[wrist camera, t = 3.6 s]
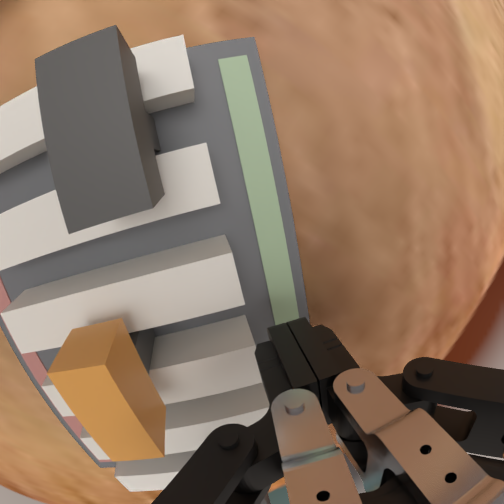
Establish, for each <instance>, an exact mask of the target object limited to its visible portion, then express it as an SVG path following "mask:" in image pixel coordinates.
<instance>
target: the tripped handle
mask: <svg viewBox="0 0 504 504" xmlns="http://www.w3.org/2000/svg"><path fill="white" fill-rule="evenodd" d="M154 340H155V333H154V330H153V328H149V329H145V330H140V331H136V332H131V333H128V331H127V328H126V326H125V324H124V322H123V319H122V318H119V319H115V320H111V321H106V322H102V323H98V324H93V325H89V326H84V327H80V328H75V329H72V330H71V331H70V333H69V335H68V337H67V338H66V340H65V342H64V343H63V345H62V347H61V349H60V350H59V352H58V354H57V356H56V357H55V359H54V361H53V363H52V365H51V366H50V368H49V370H48V372H47V375H48V376H49V378H50V380H51V381H52V383H53V384H54V386H55V387H56V389H57V390H58V392H59V393H60V395H61V396H62V398H63V399H64V401H65V402H66V404H67V405H68V406H69V408H70V409H71V411H72V412H73V413H74V415H75V416H76V417H77V419H78V420H79V421H80V423H81V424H82V425H83V427H84V428H85V429H86V431H87V432H88V433H89V434H90V436H91V437H92V438H93V439H94V440H95V442H96V443H97V444H98V445H99V446H100V448H101V449H102V450H103V451H104V452H105V453H106V455H107V456H108V457H109V458H110V459H111V460H112V461H113V462H114V461H130V460H143V459H153V458H162V457H165V422H166V406H165V405H164V403H163V401H162V399H161V397H160V395H159V394H158V392H157V390H156V388H155V386H154V384H153V382H152V380H151V378H150V377H149V371H150V365H151V358H152V352H153V346H154Z"/></svg>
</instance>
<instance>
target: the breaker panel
mask: <svg viewBox="0 0 504 504" xmlns="http://www.w3.org/2000/svg"><path fill="white" fill-rule="evenodd" d="M35 69H36V81H37V86H36V87H34V88H32V89H30V90H28V91H26V92H25V93H23V94H21V95H19V96H17V97H16V98H14V99H12V100H10V101H8V102H7V103H5V104H3V105H2V106H0V326H1V328H2V330H3V332H4V334H5V336H6V338H7V340H8V342H9V344H10V345H11V347H12V349H13V351H14V353H15V354H16V356H17V358H18V359H19V361H20V363H21V365H22V366H23V368H24V369H25V371H26V373H27V374H28V376H29V377H30V379H31V381H32V382H33V384H34V385H35V387H36V388H37V390H38V391H39V393H40V394H41V396H42V397H43V398H44V400H45V401H46V403H47V404H48V406H49V407H50V408H51V410H52V411H53V412H54V414H55V415H56V416H57V418H58V419H59V420H60V422H61V423H62V424H63V425H64V427H65V428H66V429H67V430H68V432H69V433H70V434H71V435H72V437H73V438H74V439H75V440H76V441H77V442H78V444H79V445H80V446H81V447H82V448H83V449H84V451H85V452H86V453H87V454H88V455H89V456H90V457H91V458H92V459H93V460H94V462H95V463H96V464H97V465H98V466H99V467H100V468H104V467H116V468H115V477H116V478H117V479H118V480H119V481H120V482H121V483H122V484H123V485H124V486H125V487H126V488H127V489H128V490H129V491H130V492H132V491H152V490H164V489H165V488H166V486H167V485H168V484H169V483H170V482H171V481H172V479H173V478H174V477H175V476H176V475H177V473H178V472H179V471H180V470H181V469H182V467H183V466H184V465H185V464H186V463H187V461H188V460H189V459H190V458H191V456H192V455H193V454H194V453H195V452H196V450H197V449H198V448H199V447H200V445H201V444H202V443H203V442H204V440H205V439H206V438H207V436H208V435H209V434H210V433H211V432H212V431H213V430H214V429H216V428H218V427H220V426H222V425H225V424H232V423H235V424H242V425H244V426H246V427H248V426H250V425H252V424H254V423H255V422H257V421H259V420H260V419H261V418H262V417H263V416H264V415H265V414H266V413H267V411H268V409H269V405H270V404H269V401H268V398H267V395H266V392H265V389H264V386H263V383H262V379H261V376H260V372H259V368H258V365H257V361H256V357H255V354H254V353H255V350H256V347H257V344H259V343H262V342H266V341H269V337H268V332H267V328H268V327H271V326H275V325H278V324H282V323H286V322H288V321H292V320H295V319H298V318H301V317H306V319H307V320H308V322H309V323H310V321H309V314H308V307H307V300H306V294H305V287H304V281H303V274H302V268H301V262H300V256H299V250H298V244H297V238H296V232H295V226H294V221H293V215H292V209H291V204H290V199H289V193H288V188H287V183H286V177H285V172H284V167H283V162H282V157H281V152H280V147H279V143H278V138H277V133H276V128H275V124H274V119H273V114H272V110H271V105H270V101H269V96H268V92H267V88H266V83H265V79H264V75H263V71H262V66H261V62H260V58H259V54H258V50H257V46H256V42H255V38H254V37H249V38H241V39H234V40H227V41H221V42H215V43H209V44H204V45H199V46H194V47H189V48H186V46H185V41H184V36H183V35H180V36H175V37H171V38H167V39H163V40H159V41H155V42H151V43H148V44H144V45H141V46H137V47H134V48H129V46H128V44H127V43H126V41H125V39H124V38H123V36H122V34H121V33H120V31H119V29H118V27H117V26H116V25H114V26H111V27H108V28H106V29H103V30H100V31H97V32H95V33H92V34H89V35H87V36H84V37H82V38H79V39H77V40H75V41H72V42H70V43H68V44H65V45H63V46H61V47H59V48H56V49H54V50H52V51H50V52H48V53H46V54H44V55H42V56H40V57H38V58H36V59H35ZM119 318H122V319H123V322H124V324H125V326H126V328H127V331H128V333H131V332H136V331H140V330H145V329H149V328H153V330H154V333H155V340H154V346H153V352H152V358H151V365H150V371H149V377H150V378H151V380H152V382H153V384H154V386H155V388H156V390H157V392H158V394H159V395H160V397H161V399H162V401H163V403H164V405H165V406H166V422H165V457H162V458H153V459H143V460H130V461H114V462H113V461H112V460H111V459H110V458H109V457H108V456H107V455H106V453H105V452H104V451H103V450H102V449H101V448H100V446H99V445H98V444H97V443H96V442H95V440H94V439H93V438H92V437H91V436H90V434H89V433H88V432H87V431H86V429H85V428H84V427H83V425H82V424H81V423H80V421H79V420H78V419H77V417H76V416H75V415H74V413H73V412H72V411H71V409H70V408H69V406H68V405H67V404H66V402H65V401H64V399H63V398H62V396H61V395H60V393H59V392H58V390H57V389H56V387H55V386H54V384H53V383H52V381H51V380H50V378H49V376H48V375H47V372H48V370H49V368H50V366H51V365H52V363H53V361H54V359H55V357H56V356H57V354H58V352H59V350H60V349H61V347H62V345H63V343H64V342H65V340H66V338H67V337H68V335H69V333H70V331H71V330H72V329H75V328H80V327H84V326H89V325H93V324H98V323H102V322H106V321H111V320H115V319H119ZM261 504H271V503H270V500H269V496H268V493H267V494H266V496H265V497H264V499H263V500H262V502H261Z"/></svg>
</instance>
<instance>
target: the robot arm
mask: <svg viewBox="0 0 504 504" xmlns="http://www.w3.org/2000/svg"><path fill="white" fill-rule="evenodd" d="M267 332H268V337H269V341H266V342H262V343H259V344H257V347H256V350H255V353H254V354H255V357H256V361H257V365H258V368H259V372H260V376H261V379H262V383H263V386H264V389H265V392H266V395H267V398H268V401H269V404H270V405H269V409H268V411H267V413H266V414H265V415H264V416H263V417H262V418H261V419H260V420H259V421H257V422H255V423H254V424H252V425H250V426H248V427H246V426H244V425H242V424H235V423H232V424H225V425H222V426H220V427H218V428H216V429H214V430H213V431H212V432H211V433H210V434H209V435H208V436H207V438H206V439H205V440H204V442H203V443H202V444H201V445H200V447H199V448H198V449H197V450H196V452H195V453H194V454H193V455H192V456H191V458H190V459H189V460H188V461H187V463H186V464H185V465H184V466H183V467H182V469H181V470H180V471H179V472H178V473H177V475H176V476H175V477H174V478H173V479H172V481H171V482H170V483H169V484H168V485H167V486H166V488H165V489H164V490H163V491H162V492H161V493H160V494H159V496H158V497H157V498H156V499H155V500H154V501H153V502H152V504H261V502H262V500H263V499H264V497H265V496H266V494H267V492H268V491H269V489H270V487H271V484H272V483H274V482H276V481H277V480H279V479H281V478H282V477H284V478H285V483H286V487H287V492H288V497H289V501H290V504H504V461H502V460H497V459H491V458H486V457H481V456H476V455H471V454H467V453H466V452H469V453H474V454H480V455H486V456H493V457H500V458H504V370H501V369H494V368H488V367H481V366H475V365H468V364H462V363H456V362H451V361H445V360H440V359H434V358H429V357H421V358H416V359H414V360H412V361H410V362H409V363H407V364H406V366H405V367H404V370H403V373H401V374H396V375H390V376H376V375H375V374H374V373H373V372H371V371H369V370H367V369H362V368H360V367H359V366H358V364H357V363H356V362H355V360H354V359H353V358H352V356H351V355H350V354H349V352H348V351H347V350H346V348H345V347H344V346H343V345H342V343H341V342H340V340H339V339H337V337H336V335H335V334H334V333H333V331H332V330H331V329H329V328H327V327H325V326H323V325H318V326H315V327H312V326H311V325H310V323H309V322H308V320H307V319H306V317H301V318H298V319H295V320H292V321H288V322H286V323H282V324H278V325H275V326H271V327H268V328H267ZM437 403H438V404H442V405H447V406H452V407H457V408H463V409H468V410H472V411H468V412H466V411H461V410H456V409H450V408H445V407H441V406H437ZM331 423H332V424H333V426H334V427H335V429H336V439H337V441H338V443H339V444H340V446H341V447H342V449H343V451H344V452H345V454H346V455H347V457H348V458H349V460H350V461H351V463H352V465H353V466H354V467H355V469H356V471H357V472H358V474H359V475H360V477H361V479H362V481H363V485H364V489H365V491H366V493H360V494H358V491H357V489H356V486H355V484H354V481H353V479H352V476H351V473H350V471H349V468H348V466H347V463H346V461H345V458H344V455H343V453H342V451H341V449H340V448H339V447H336V445H335V443H334V440H333V438H332V435H331V432H330V430H329V427H328V424H331Z"/></svg>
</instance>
